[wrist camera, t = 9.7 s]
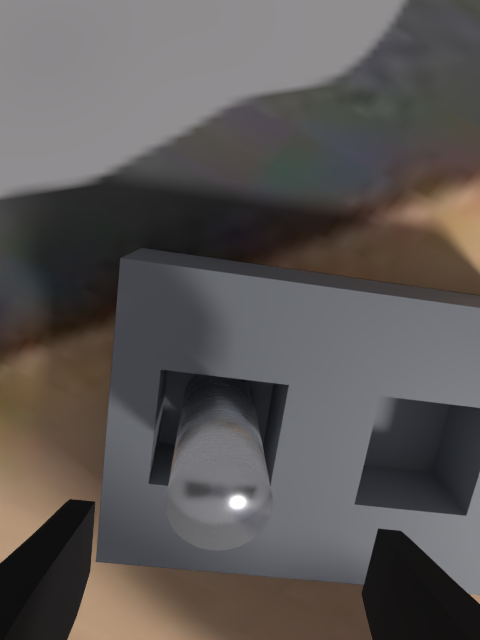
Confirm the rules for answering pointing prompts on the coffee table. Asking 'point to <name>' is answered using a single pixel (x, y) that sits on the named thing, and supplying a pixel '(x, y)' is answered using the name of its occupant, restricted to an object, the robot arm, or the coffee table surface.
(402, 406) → the hole board
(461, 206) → the coffee table surface
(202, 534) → the pin
